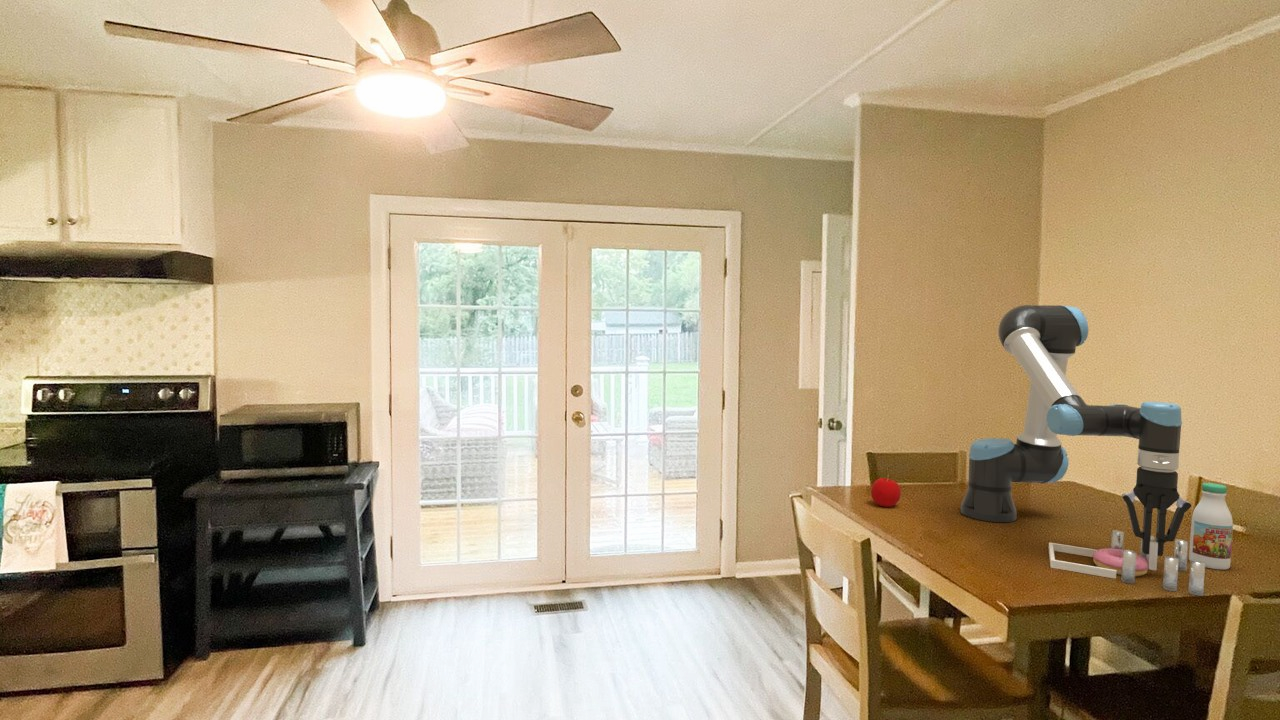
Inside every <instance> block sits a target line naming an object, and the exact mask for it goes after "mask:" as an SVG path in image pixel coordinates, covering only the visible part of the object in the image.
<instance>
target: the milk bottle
mask: <svg viewBox="0 0 1280 720" xmlns="http://www.w3.org/2000/svg"><path fill="white" fill-rule="evenodd" d="M1201 492H1202V495H1201V498H1200V500H1199V502H1198V503H1197V505H1196V506H1195V508H1194V510H1193V512H1192V514H1191V515H1192V516H1191V521H1190V522H1191V523H1190V536H1189V548H1188V550H1189V551H1188V552H1189V553H1188V560H1189V562H1191V560H1196V561H1201V562H1204V563H1205V568H1208V569H1212V570H1213V569H1214V570H1221V571H1222V570H1223V571H1224V570H1228V569H1229V568H1230V567H1231V560H1232V547H1233V546H1232V545H1233V531H1234V530H1233V529H1234V528H1233V525H1234V521H1233V515H1232V513H1231V511H1230V509H1229V507H1228V504H1227V502H1226V496H1227V493H1228V488H1227V486H1226V485H1223V484H1220V483H1214V482H1213V483H1212V482H1203V483H1202V484H1201Z"/></svg>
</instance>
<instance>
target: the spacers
mask: <svg viewBox="0 0 1280 720" xmlns="http://www.w3.org/2000/svg"><path fill="white" fill-rule="evenodd" d="M1124 533H1125V532H1124V531H1122V530H1117V529H1112V530H1111V536H1110V537H1111V540H1110V549H1114V548H1115V549H1119V550H1123V561H1122V575H1121V582H1123V583H1124V584H1127V585H1128V584H1130V585H1134V584H1135V582H1136V581H1135V579H1136V576H1135V566H1136V554H1137V552H1136V551H1134V550H1131V549H1124V538H1125V537H1124V536H1125V535H1124ZM1140 539H1141V540H1140V554H1139V555H1140V556H1142V557H1143V558H1144V559H1146V561H1147V554H1144V553H1143V551H1142V541H1143V540H1142V538H1140ZM1151 539H1153V540H1155V536H1153V535H1151ZM1188 550H1189V541H1187V540H1184V539H1178V538H1177V539H1176V538H1175V540H1174V554H1173V556H1171V555H1170V556H1169V555H1166V556H1164V561H1163V580H1162V589H1164V590H1166V591H1170V592H1177V591H1178V590H1177V589H1178V576H1179V571H1180V572H1186V571H1187V569H1188V568H1187V566H1188V554H1189V553H1188V552H1189V551H1188ZM1189 567H1190V568H1189V580H1188V581H1189V583H1188V594H1191V595H1194V596H1199V597H1202V596H1204V585H1205V574H1206V573H1205V571H1206V567H1205V563H1204V562H1201V561H1196V560H1191V561H1190V566H1189ZM1178 570H1179V571H1178Z"/></svg>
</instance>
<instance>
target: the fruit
mask: <svg viewBox="0 0 1280 720" xmlns="http://www.w3.org/2000/svg"><path fill="white" fill-rule="evenodd" d="M889 476H890V475H889V474H887V478H886V477H881V478H877V479H876V480H875V481H874V482H873V484H872V486H871V489H870V494H871V495H870V496H871V498H872V501H873V502H874V503H875V504H876V505H878V506H879V507H884V508H890V507H891V508H892V507H893V506H895V505H896V504H898V502H899V501H900V499H901V494H902V492H901V487H900V485H899V483H897V482H896V481H895V480H893V479H890V477H889Z"/></svg>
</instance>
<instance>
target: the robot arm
mask: <svg viewBox="0 0 1280 720" xmlns="http://www.w3.org/2000/svg"><path fill="white" fill-rule="evenodd" d="M1088 335H1089V324H1088V320H1087V316H1085V315H1084V313H1083V311H1081V309H1079V308H1078V307H1075V306H1069V305H1063V304H1062V305H1060V304H1059V305H1057V304H1056V305H1055V304H1054V305H1053V304H1052V305H1050V304H1048V305H1047V304H1046V305H1045V304H1043V305H1037V304H1035V305H1034V304H1025V305H1024V304H1023V305H1022V304H1021V305H1018V306H1016V307H1013V308H1012V309H1010V310H1009V311H1008V312H1006V313H1005V314H1004V315H1003V317H1002V318H1001V319H1000V322H999V325H998V338H999V339H998V340H999V341H1000V343H1001V346H1002V347H1003V349H1004V350H1005V351H1006V352H1007V353H1009V354H1011V355H1013V357H1014V358H1015V359H1016V361H1017V362H1018V364H1019V366H1020V367H1021V368H1022V370H1023V371H1024V373H1025V374H1026V377H1028V379H1029V381H1030V383H1029V390H1028V395H1027V396H1028V398H1027V405H1026V412H1025V417H1024V426H1023V431H1022V432H1021V433H1019V434H1018V435H1017V436H1016V442H1015V443H1014V442H1013V440H1011V439H1008V438H1000V437H998V438H995V437H994V438H993V437H991V438H981V439H977V440H976V439H975V440H974V441H973V442H972V443H971V444H970V447H969V454H968V458H969V459H968V478H967V480H968V482H967V483H968V485H967V490H966V492H965V494H964V496H963V498H962V499H963V500H962V501H961V504H960V514H962V515H964V516H966V517H968V518H972V519H974V520H979V521H984V522H991V523H992V522H993V523H1011V522H1015V521H1016V520H1017V515H1018V514H1017V513H1018V512H1017V508H1016V505H1015V503H1014V498H1013V496H1012V485H1013V484H1012V483H1020V484H1021V483H1024V484H1025V483H1027V484H1029V483H1030V484H1041V485H1042V484H1051V483H1052V484H1053V483H1057V482H1058V481H1060V480H1062V479H1063V478H1064V477H1065V475H1066V473H1067V471H1068V467H1069V457H1068V453H1067V450H1066V449H1065V448H1064V447H1063V446H1062V442H1061V440H1060V439H1059V438H1058V436H1057V435H1062V436H1070V437H1073V436H1075V437H1076V436H1094V437H1095V436H1097V437H1099V436H1100V437H1126V438H1127V437H1128V438H1133V439H1136V440H1138V447H1137V448H1138V450H1137V451H1138V452H1137V462H1136V463H1137V465H1138V466H1139V467H1137V468H1136V481H1135V486H1134V487H1133V489H1132V491H1131V492H1128V493H1122V494H1121V497H1122V499H1123V501H1124V502H1125V504H1126V508H1127V511H1128V515H1129V519H1130V524H1131V528H1132V533H1133V534H1134V536H1135V537H1137V538H1140V539H1142V540H1143V541H1142V551H1143V553H1144V554H1147V562H1148V564H1149V568H1148V570H1150V571H1151V570H1152V571H1157V570H1158V569H1157V566H1158V557H1163V555H1164V548H1165V546H1164V545H1165V543H1167V542H1171V543H1172V542H1175V540H1176V537H1177V534H1178V531H1179V529H1180V527H1181V524H1182V522H1183V518H1184V517H1185V515H1186V512H1187V511H1189V509H1190V508H1192V504H1191V503H1190V502H1189V501H1188V500H1185V499H1184V498H1182V497H1180V493H1179V492H1178V480H1179V473H1178V472H1177V470H1178V469H1179V462H1180V461H1179V459H1180V447H1181V446H1180V445H1181V434H1182V433H1181V429H1182V424H1183V420H1182V408H1181V406H1180V405H1178V404H1177V403H1173V402H1164V401H1143V402H1142V403H1141V404H1140V407H1136V406H1132V405H1131V406H1130V405H1127V404H1117V403H1116V404H1115V403H1113V404H1109V405H1097V404H1096V405H1095V404H1094V405H1093V404H1087V403H1086V402H1085V400H1084V399H1083V397H1081V395H1080V394H1079V393H1078V391H1077V390H1076V389H1075V387H1074V385H1073V384H1072V383H1071V382H1070V380H1069V379H1068V377H1067V376H1066V374H1067V366H1068V360H1069V358H1071V357H1073V356H1074V355H1075V354H1076V348H1077V347H1079V346H1082V345H1083V344H1085V341H1087V339H1088ZM1135 497H1136V498H1137V499H1138V501H1140V503H1141V505H1143V516H1142V517H1143V520H1142V530H1141V529H1140V528H1141V527H1140V525H1139V520H1138V516H1137V515H1138V514H1137V512H1136V507H1135V504H1134V503H1135V501H1136V498H1135ZM1175 503H1176V504H1175ZM1173 504H1175V505H1176V508H1175V511H1174V513H1173V516H1172V518H1171V521H1170V524H1169V526H1168V528H1167V532H1166V522H1167V521H1166V520H1167V513H1168V512H1167V511H1168V509H1169V508H1171V507H1172V506H1173ZM1154 509H1156V511H1157V515H1156V530H1155V531H1156V532H1155V533H1156V534H1155V539H1154V540H1153V539H1151V536H1152V521H1153V520H1152V518H1153V510H1154Z"/></svg>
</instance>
